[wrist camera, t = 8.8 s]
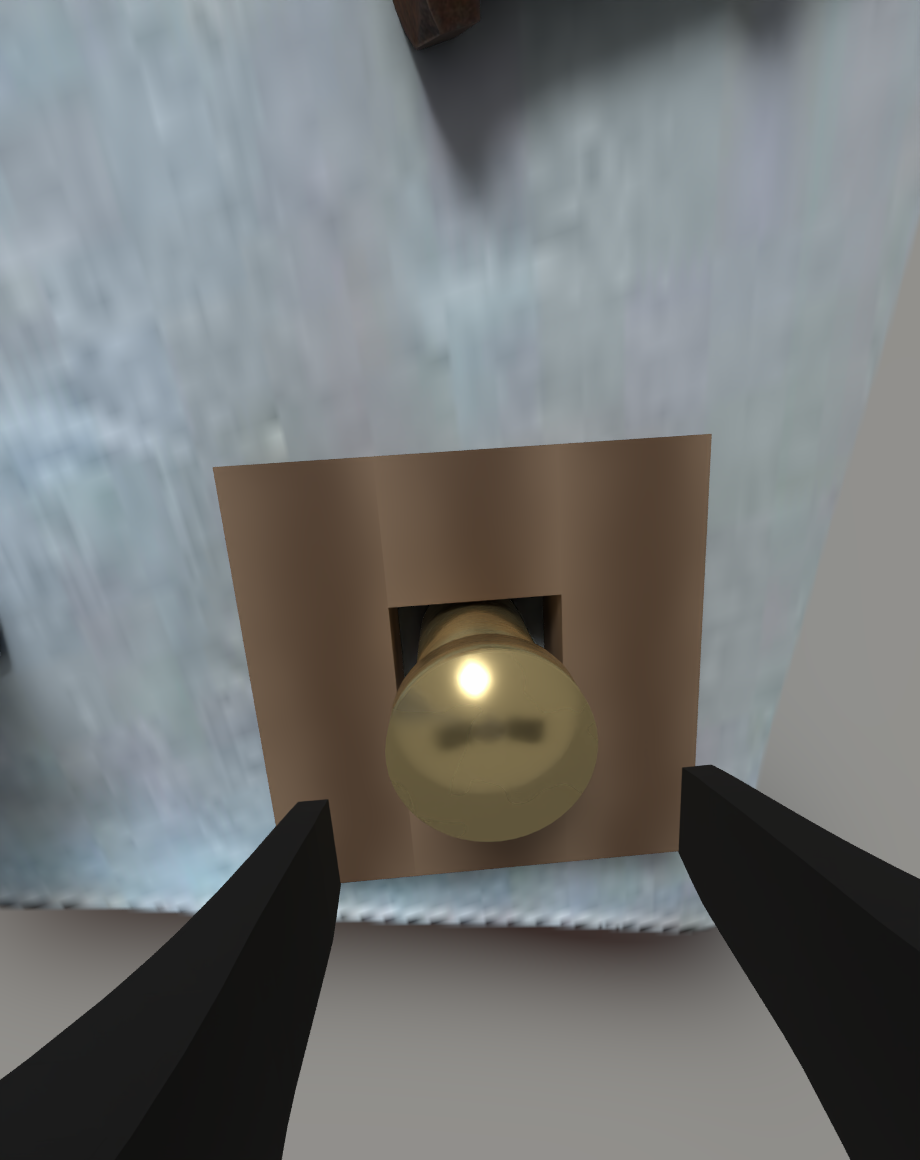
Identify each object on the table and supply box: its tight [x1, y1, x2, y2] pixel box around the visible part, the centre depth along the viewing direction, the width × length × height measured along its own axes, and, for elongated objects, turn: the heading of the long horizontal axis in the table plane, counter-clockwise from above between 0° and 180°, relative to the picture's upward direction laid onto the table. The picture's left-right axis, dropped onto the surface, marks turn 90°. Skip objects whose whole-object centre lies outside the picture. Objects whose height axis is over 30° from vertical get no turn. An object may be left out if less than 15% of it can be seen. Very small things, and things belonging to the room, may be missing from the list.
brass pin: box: [385, 598, 598, 842], centre depth 16 cm, size 5×5×8 cm
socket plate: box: [213, 434, 712, 883], centre depth 18 cm, size 15×15×3 cm
